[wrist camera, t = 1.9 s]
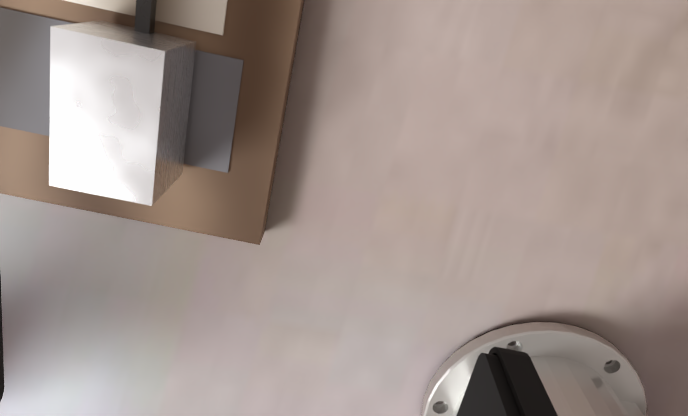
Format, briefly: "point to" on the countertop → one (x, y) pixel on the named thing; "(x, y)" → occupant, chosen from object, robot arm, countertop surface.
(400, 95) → the countertop surface
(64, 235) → the countertop surface
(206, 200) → the base
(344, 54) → the countertop surface
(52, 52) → the gauge slider
